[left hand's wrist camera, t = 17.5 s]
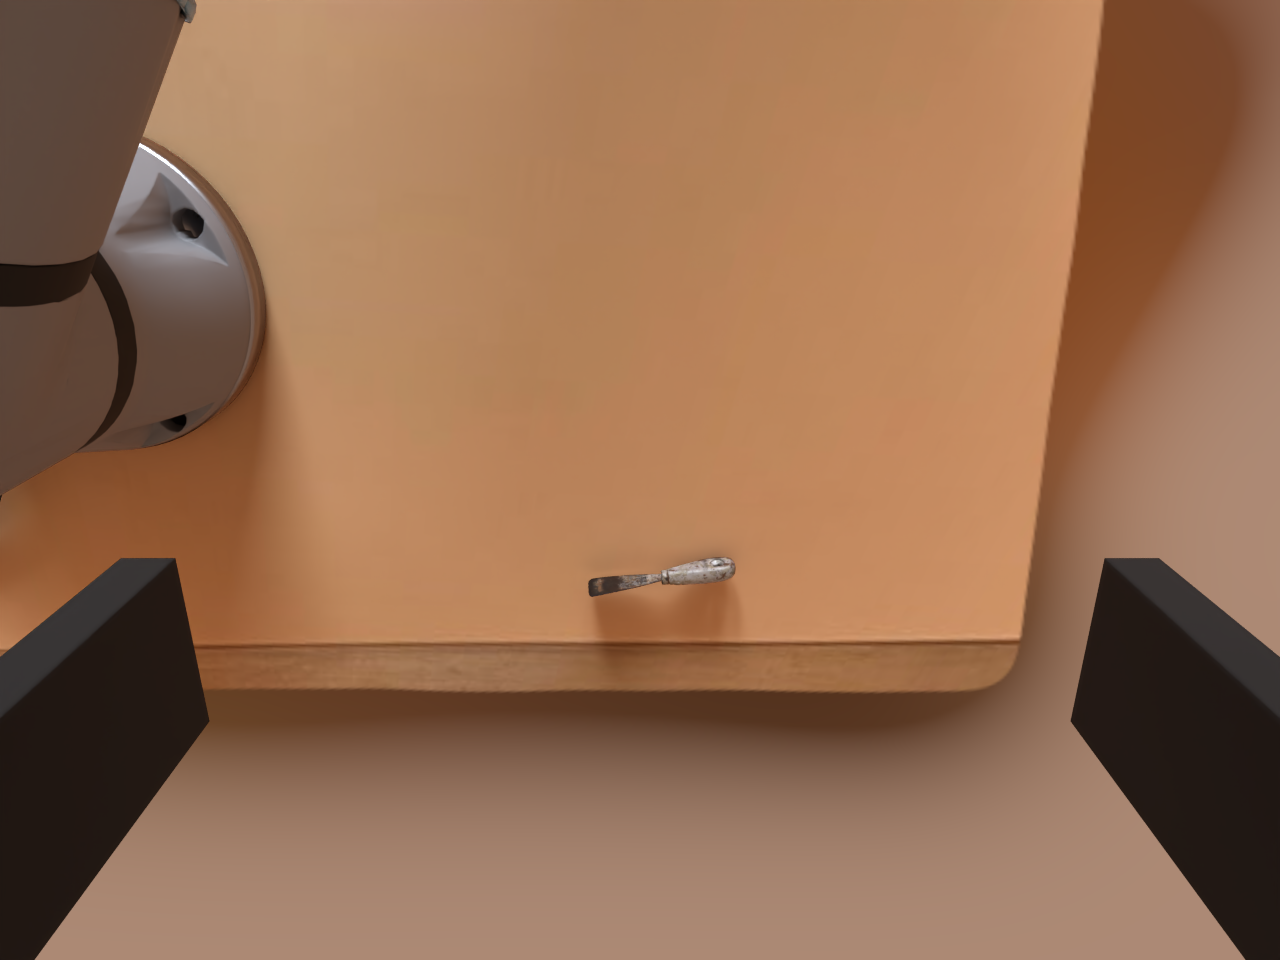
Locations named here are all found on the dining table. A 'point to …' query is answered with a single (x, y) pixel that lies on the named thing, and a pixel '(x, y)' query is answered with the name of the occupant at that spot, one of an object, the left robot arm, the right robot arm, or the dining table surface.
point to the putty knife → (668, 576)
